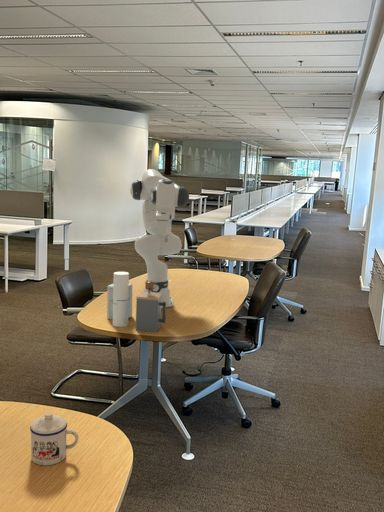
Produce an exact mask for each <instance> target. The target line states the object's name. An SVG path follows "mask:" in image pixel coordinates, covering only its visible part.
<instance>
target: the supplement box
mask: <svg viewBox="0 0 384 512" xmlns="http://www.w3.org/2000/svg"><path fill="white" fill-rule="evenodd" d="M106 288H107V291H106V292H107V295H106V297H107V300H106V301H107V302H106V304H107V308H106V309H107V311H106V314H107V315H106V316H107V318H108V319H110V320H113V283H111V284H109V285H107V287H106ZM132 317H133V284H132V283H129V294H128V319H129V318H132Z"/></svg>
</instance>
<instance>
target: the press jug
mask: <svg viewBox="0 0 384 512" xmlns="http://www.w3.org/2000/svg"><path fill="white" fill-rule="evenodd" d="M161 301H162V293H154V292H151V295H148V292H143V291H140V292H139V294H137V296H136V306H135V308H136V309H135V310H136V311H135V331H137V332H138V331H139V332H142V331H143V332H154V333H158V331H159V329H160V327H161V326H162V325H161V324H166V319H167V318H166V317H167V315H166V314H167V307H166V302H161ZM161 306H163V308H161Z"/></svg>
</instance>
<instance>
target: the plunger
mask: <svg viewBox="0 0 384 512" xmlns="http://www.w3.org/2000/svg"><path fill="white" fill-rule="evenodd" d="M144 287H145V288H144V289H147V290H148V295H151V290H153V289H154V282H153V281H145V286H144Z"/></svg>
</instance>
